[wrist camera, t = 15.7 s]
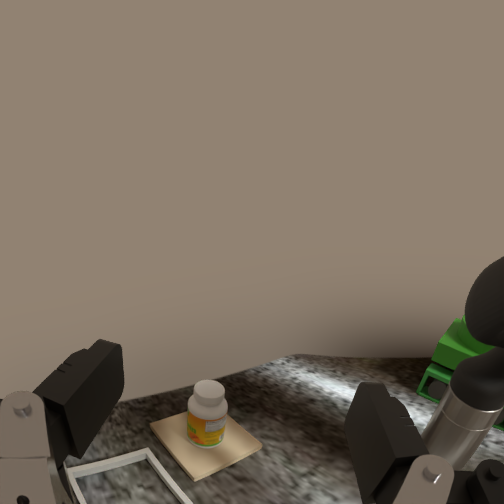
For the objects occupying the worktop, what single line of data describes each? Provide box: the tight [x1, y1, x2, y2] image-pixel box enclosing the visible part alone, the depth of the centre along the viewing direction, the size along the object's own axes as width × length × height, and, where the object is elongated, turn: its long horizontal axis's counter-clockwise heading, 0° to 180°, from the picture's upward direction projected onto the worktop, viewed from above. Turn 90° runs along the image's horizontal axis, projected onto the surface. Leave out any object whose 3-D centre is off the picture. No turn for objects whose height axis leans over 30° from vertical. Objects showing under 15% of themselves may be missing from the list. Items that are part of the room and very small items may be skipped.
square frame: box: [67, 448, 193, 504], centre depth 26 cm, size 13×13×1 cm
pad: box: [150, 411, 262, 482], centre depth 40 cm, size 12×12×1 cm
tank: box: [416, 315, 504, 431], centre depth 50 cm, size 24×35×16 cm
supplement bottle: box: [187, 380, 228, 448], centre depth 38 cm, size 5×5×10 cm
